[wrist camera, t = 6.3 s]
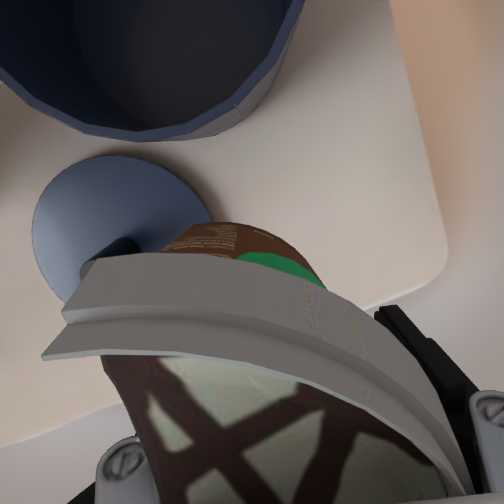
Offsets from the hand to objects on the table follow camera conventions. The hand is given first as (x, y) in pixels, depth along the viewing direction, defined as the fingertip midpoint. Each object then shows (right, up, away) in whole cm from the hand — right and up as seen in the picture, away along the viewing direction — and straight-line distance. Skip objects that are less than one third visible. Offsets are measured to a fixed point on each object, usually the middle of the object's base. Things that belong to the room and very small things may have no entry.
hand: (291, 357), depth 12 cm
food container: (0, +1, +4) cm, 4 cm away
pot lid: (-13, +4, +18) cm, 22 cm away
